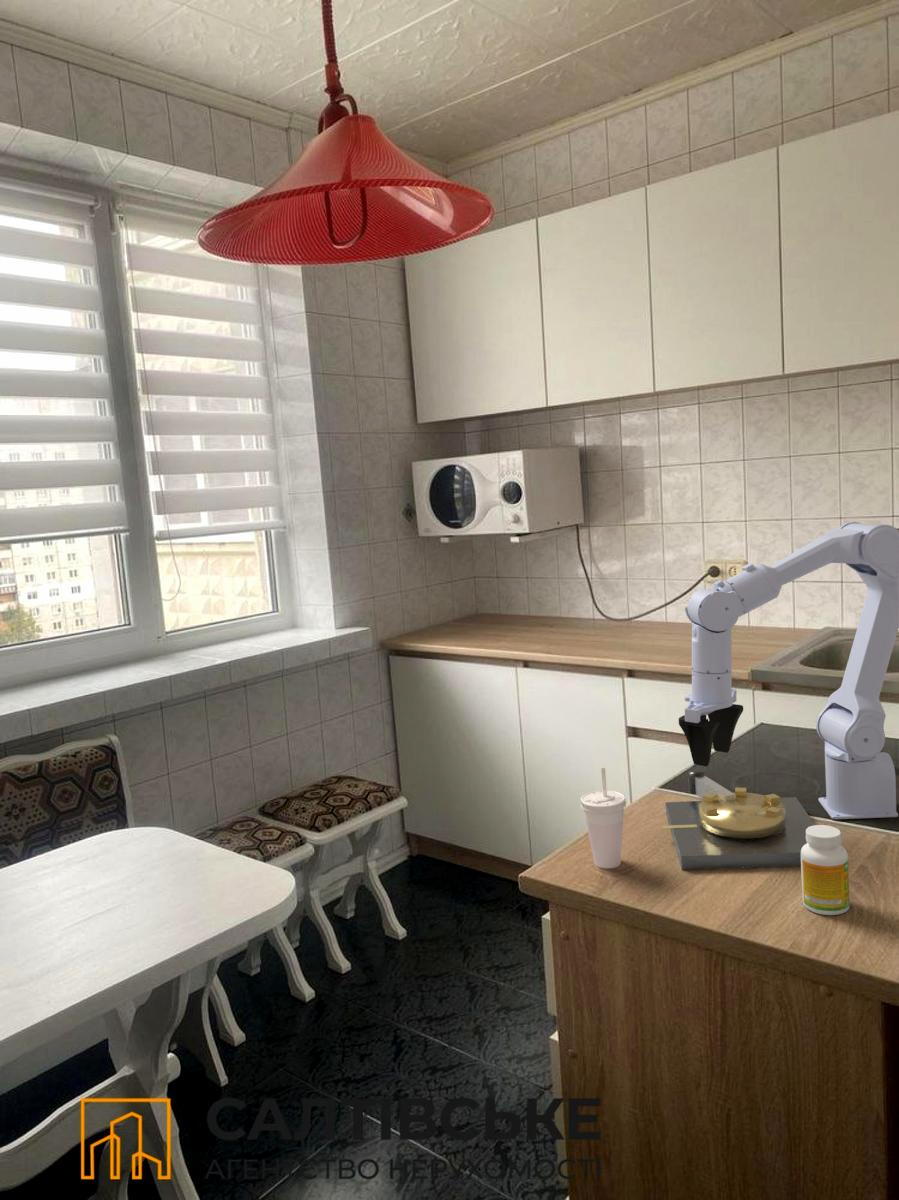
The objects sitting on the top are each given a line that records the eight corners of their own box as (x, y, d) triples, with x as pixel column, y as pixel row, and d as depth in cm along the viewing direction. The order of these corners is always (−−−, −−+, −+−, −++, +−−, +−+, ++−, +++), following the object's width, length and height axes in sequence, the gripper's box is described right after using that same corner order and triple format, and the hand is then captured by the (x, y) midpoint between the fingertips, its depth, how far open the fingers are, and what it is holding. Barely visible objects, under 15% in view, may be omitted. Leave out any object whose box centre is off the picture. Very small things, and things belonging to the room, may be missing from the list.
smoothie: (639, 859, 128) (632, 765, 126) (614, 876, 123) (607, 779, 122) (601, 849, 132) (594, 758, 130) (576, 866, 128) (568, 771, 126)
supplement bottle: (854, 917, 107) (852, 840, 106) (807, 916, 109) (803, 840, 107) (844, 895, 113) (841, 822, 111) (799, 895, 114) (796, 822, 112)
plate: (796, 809, 140) (795, 796, 140) (833, 865, 121) (833, 850, 121) (656, 814, 143) (655, 802, 143) (670, 870, 124) (669, 855, 124)
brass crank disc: (802, 829, 127) (802, 806, 127) (726, 844, 125) (724, 820, 124) (726, 783, 147) (725, 763, 147) (659, 795, 145) (658, 775, 144)
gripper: (705, 658, 142) (706, 741, 144) (664, 676, 131) (665, 766, 132) (749, 662, 137) (749, 748, 139) (711, 681, 126) (711, 774, 128)
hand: (711, 757), depth 135 cm, fingers open, 7 cm apart
